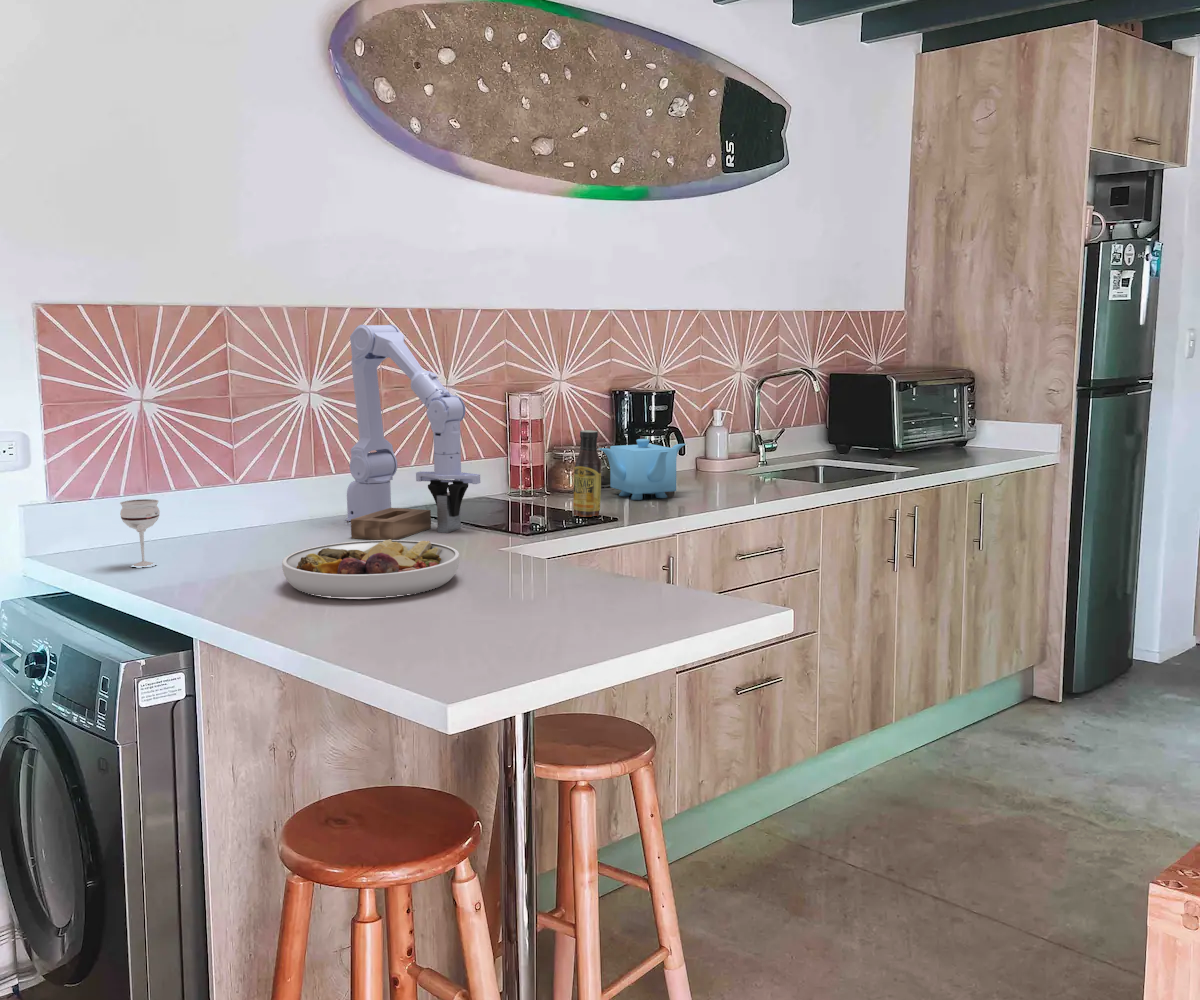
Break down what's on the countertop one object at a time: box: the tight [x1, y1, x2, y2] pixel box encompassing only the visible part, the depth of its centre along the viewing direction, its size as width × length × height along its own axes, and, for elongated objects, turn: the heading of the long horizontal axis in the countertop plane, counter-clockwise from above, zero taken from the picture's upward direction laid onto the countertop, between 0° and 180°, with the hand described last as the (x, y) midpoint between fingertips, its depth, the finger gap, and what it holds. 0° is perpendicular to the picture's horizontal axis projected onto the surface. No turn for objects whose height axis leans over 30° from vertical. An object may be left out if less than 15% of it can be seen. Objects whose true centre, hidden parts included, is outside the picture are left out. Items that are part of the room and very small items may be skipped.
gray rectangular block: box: [436, 491, 462, 534], centre depth 249 cm, size 2×6×8 cm, turn 160°
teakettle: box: [598, 438, 687, 501], centre depth 295 cm, size 19×19×15 cm
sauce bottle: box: [572, 429, 602, 518], centre depth 264 cm, size 7×6×20 cm
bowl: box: [281, 539, 460, 597], centre depth 200 cm, size 30×30×8 cm
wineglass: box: [119, 498, 161, 566], centre depth 214 cm, size 7×7×12 cm
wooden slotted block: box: [350, 507, 432, 541], centre depth 246 cm, size 10×16×4 cm, turn 160°
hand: (448, 515), depth 249 cm, fingers closed on gray rectangular block, 2 cm apart
